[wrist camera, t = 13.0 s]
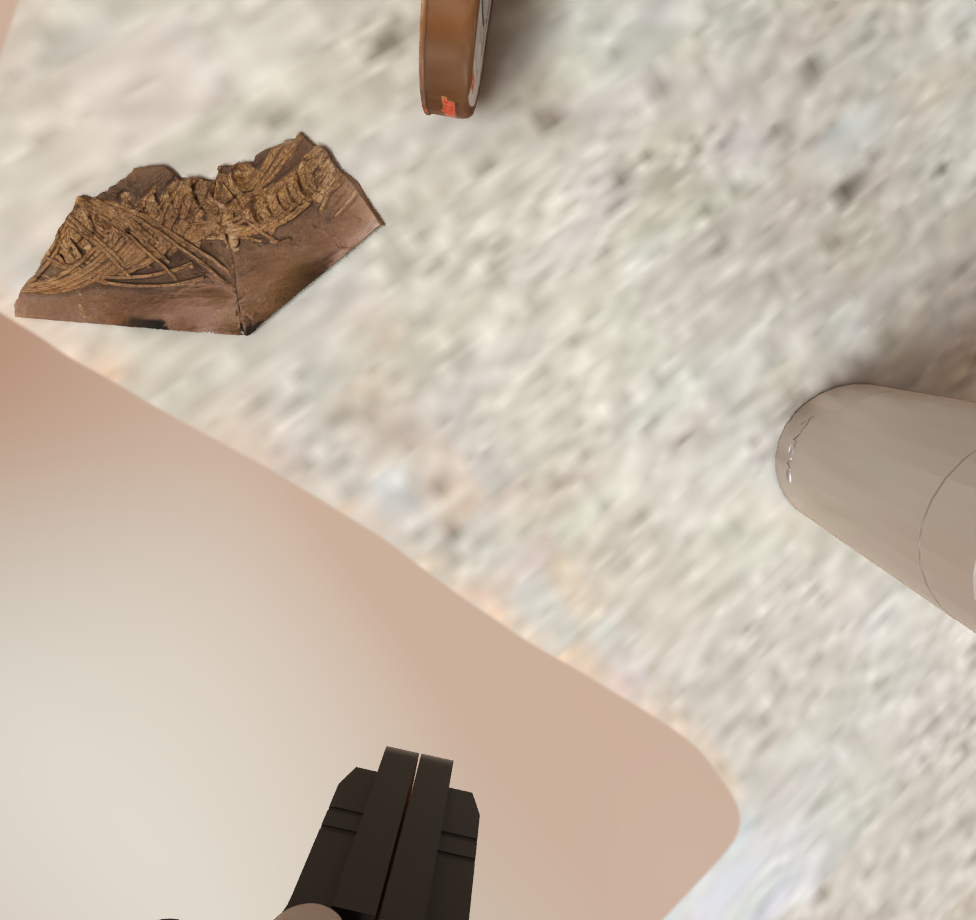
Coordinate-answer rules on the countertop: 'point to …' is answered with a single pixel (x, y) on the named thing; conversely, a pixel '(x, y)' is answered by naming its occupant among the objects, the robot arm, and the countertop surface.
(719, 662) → the countertop surface
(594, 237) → the countertop surface
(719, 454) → the countertop surface
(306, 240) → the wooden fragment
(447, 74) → the tin
